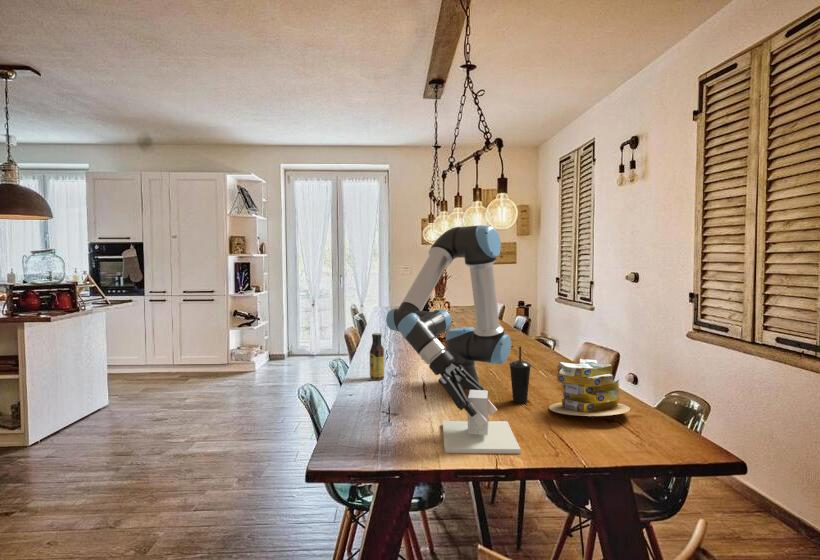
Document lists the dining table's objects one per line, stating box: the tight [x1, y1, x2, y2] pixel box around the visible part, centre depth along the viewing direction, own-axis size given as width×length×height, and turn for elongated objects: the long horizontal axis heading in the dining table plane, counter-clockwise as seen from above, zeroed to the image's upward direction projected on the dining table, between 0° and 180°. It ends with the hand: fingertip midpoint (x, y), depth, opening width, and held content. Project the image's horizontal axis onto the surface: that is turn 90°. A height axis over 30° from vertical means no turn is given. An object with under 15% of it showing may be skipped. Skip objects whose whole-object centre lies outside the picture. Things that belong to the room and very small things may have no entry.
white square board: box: [442, 420, 522, 455], centre depth 128 cm, size 20×20×1 cm
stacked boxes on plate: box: [548, 361, 631, 420], centre depth 147 cm, size 25×25×17 cm
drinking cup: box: [508, 346, 532, 405], centre depth 159 cm, size 8×8×20 cm
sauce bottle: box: [369, 332, 385, 381], centre depth 191 cm, size 7×6×20 cm
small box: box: [467, 389, 489, 435], centre depth 127 cm, size 8×6×10 cm
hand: (489, 418), depth 126 cm, fingers closed on small box, 9 cm apart
